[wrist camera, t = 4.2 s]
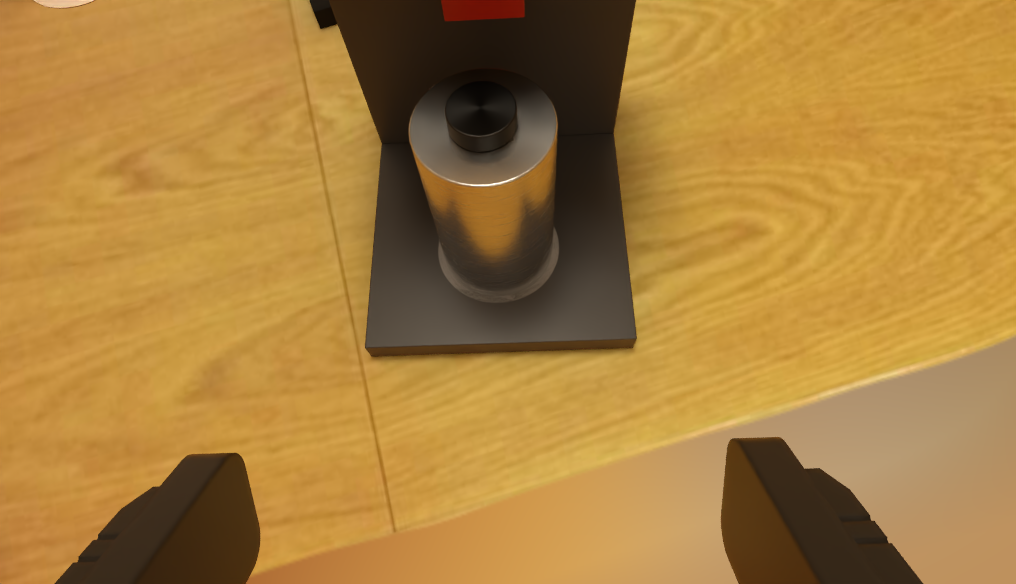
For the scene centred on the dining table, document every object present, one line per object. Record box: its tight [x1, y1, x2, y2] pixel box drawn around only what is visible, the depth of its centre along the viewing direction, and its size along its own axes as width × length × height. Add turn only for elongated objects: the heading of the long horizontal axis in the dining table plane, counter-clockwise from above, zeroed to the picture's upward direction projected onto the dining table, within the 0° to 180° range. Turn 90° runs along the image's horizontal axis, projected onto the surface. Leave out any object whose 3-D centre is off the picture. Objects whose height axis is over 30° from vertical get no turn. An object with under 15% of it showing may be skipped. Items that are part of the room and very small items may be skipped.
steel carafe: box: [409, 68, 558, 296], centre depth 31 cm, size 6×6×12 cm
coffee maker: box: [329, 0, 637, 356], centre depth 30 cm, size 19×15×20 cm
